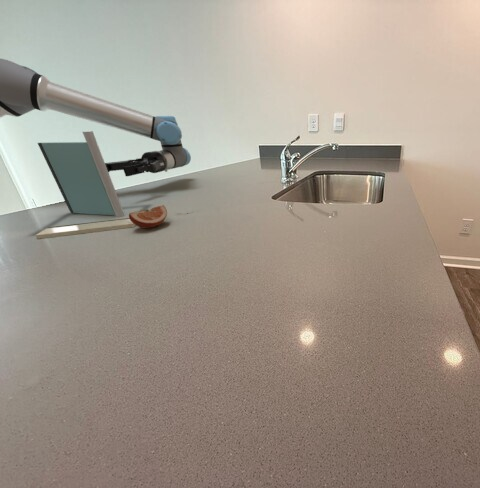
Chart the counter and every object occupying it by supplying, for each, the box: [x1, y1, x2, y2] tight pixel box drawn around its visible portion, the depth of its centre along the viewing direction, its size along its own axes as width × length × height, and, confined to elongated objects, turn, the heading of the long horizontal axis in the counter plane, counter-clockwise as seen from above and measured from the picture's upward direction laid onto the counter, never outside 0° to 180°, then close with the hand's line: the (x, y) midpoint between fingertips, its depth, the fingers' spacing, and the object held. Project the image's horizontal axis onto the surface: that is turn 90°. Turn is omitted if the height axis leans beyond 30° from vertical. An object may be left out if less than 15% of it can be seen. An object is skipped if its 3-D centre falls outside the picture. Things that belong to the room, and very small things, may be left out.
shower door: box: [37, 141, 116, 216], centre depth 73 cm, size 15×9×19 cm, turn 80°
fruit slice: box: [128, 204, 168, 229], centre depth 66 cm, size 8×7×5 cm
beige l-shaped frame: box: [35, 130, 136, 240], centre depth 66 cm, size 20×16×23 cm
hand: (106, 171), depth 79 cm, fingers open, 13 cm apart
